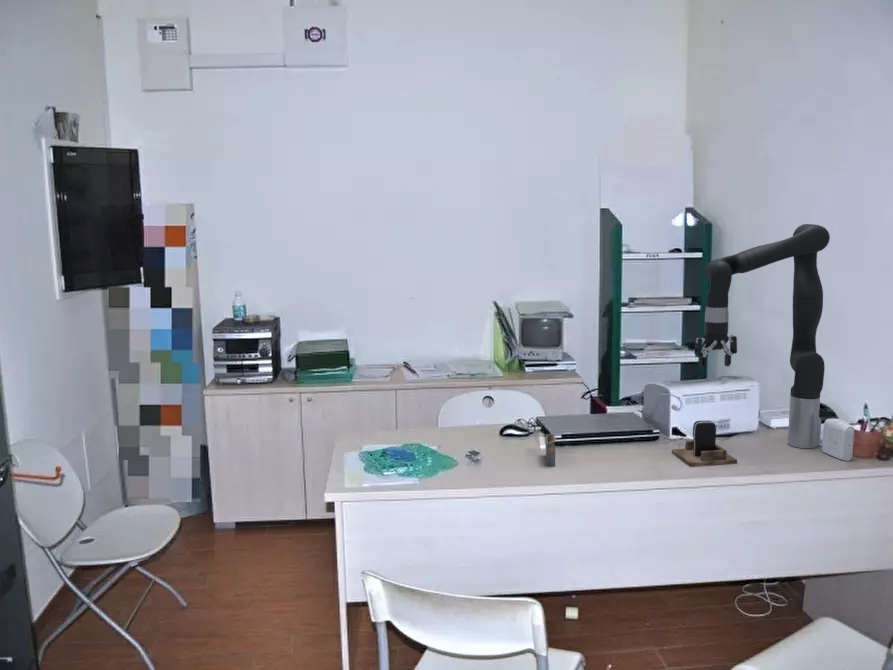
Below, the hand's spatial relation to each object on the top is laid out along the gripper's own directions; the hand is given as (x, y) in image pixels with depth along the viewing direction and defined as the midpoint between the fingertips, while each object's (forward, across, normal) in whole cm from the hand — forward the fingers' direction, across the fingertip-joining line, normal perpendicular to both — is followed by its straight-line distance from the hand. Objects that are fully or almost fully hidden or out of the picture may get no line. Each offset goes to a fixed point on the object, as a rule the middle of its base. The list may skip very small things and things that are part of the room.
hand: (715, 366), depth 263 cm
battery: (+27, +9, +11) cm, 31 cm away
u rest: (+28, +9, +12) cm, 32 cm away
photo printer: (+28, -34, +19) cm, 48 cm away
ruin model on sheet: (+28, +59, +3) cm, 65 cm away
